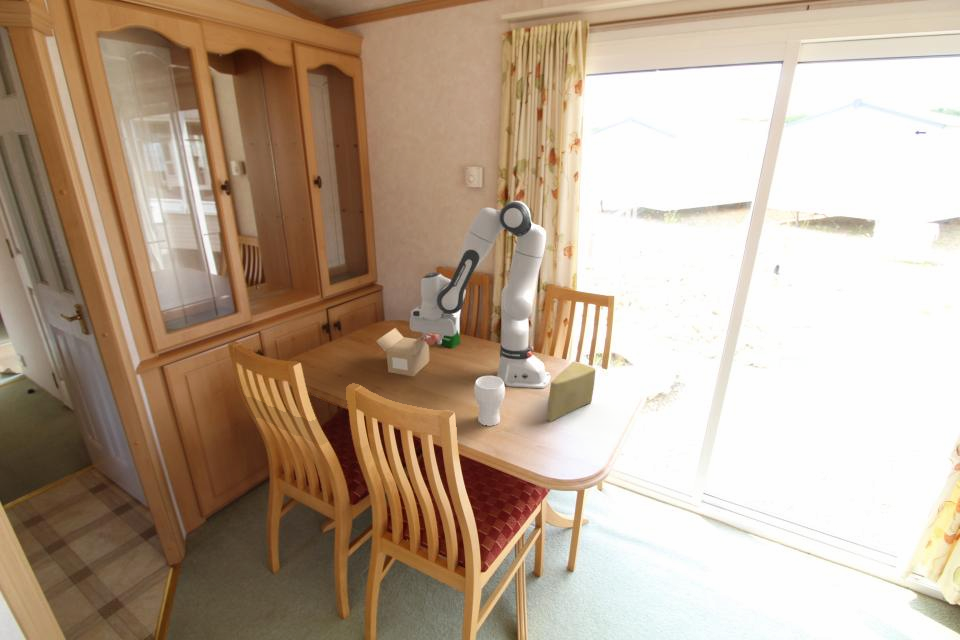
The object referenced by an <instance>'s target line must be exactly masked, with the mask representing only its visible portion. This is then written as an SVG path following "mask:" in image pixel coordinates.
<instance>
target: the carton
mask: <svg viewBox="0 0 960 640" xmlns="http://www.w3.org/2000/svg"><path fill="white" fill-rule="evenodd" d="M403 337H404V338H403V339H401V340H400V341H399V342H398V343H396V344H395V345H394V346H392V347H391V348H390V349H388V350H387V351H386V361H387V362H386V363H387V372H388V373H391V374H396V375H402V376H408V377H414V376H416V375H417V374H418V372H420V371H421V369H423V368H424V367H425V366H426V365H427V364H428V363H429V362H430V345H428V344H427V345H425V346H424V347H423V348H422V349H421V350H420V351H419V352H417V353H416V354H415V355H413V348H414V341H416V340H417V339H418V338H411V337H405V336H403Z"/></svg>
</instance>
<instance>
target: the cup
mask: <svg viewBox="0 0 960 640" xmlns="http://www.w3.org/2000/svg"><path fill="white" fill-rule="evenodd" d="M505 387H506V385H505V384H504V382H503V380H502V379H501V378H499V377H497V375H484V376H483V375H482V376H480V377H478V378H477V379H476V380H475V383H474V387H473V396H474V398H475V399H474V400H475V401H476V403H477V405H478V410H479V413H478V419H477V422H478V423H479V422H480V423H481V424H480V423H479V424H480V425H482V424H483V426H485V425H487V426H486V427H493V425H494V426H496V424H497V425H498V424H500V422H501V416H500V407H501V405H502V403H503V401H504V398H505V396H506V388H505Z"/></svg>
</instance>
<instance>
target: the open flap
mask: <svg viewBox="0 0 960 640" xmlns="http://www.w3.org/2000/svg"><path fill="white" fill-rule="evenodd" d="M404 337H405V336H403V334H402V333H400V331H399V330H398V329H397V328H396V327H394V328H393V329H391V330H390V331H388V332H387V333H386V334H384V335H383V336H381V337H379V338H378V339H377V340H376V341H375V342H376V343H377V344H378V345H379V347H381V348H382V350H383V351H384V352H385V353H387V350H389V349H390V348H391V347H393V346H394V345H395V344H396V343H398V342H399V341H400V340H402V339H403V338H404Z"/></svg>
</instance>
